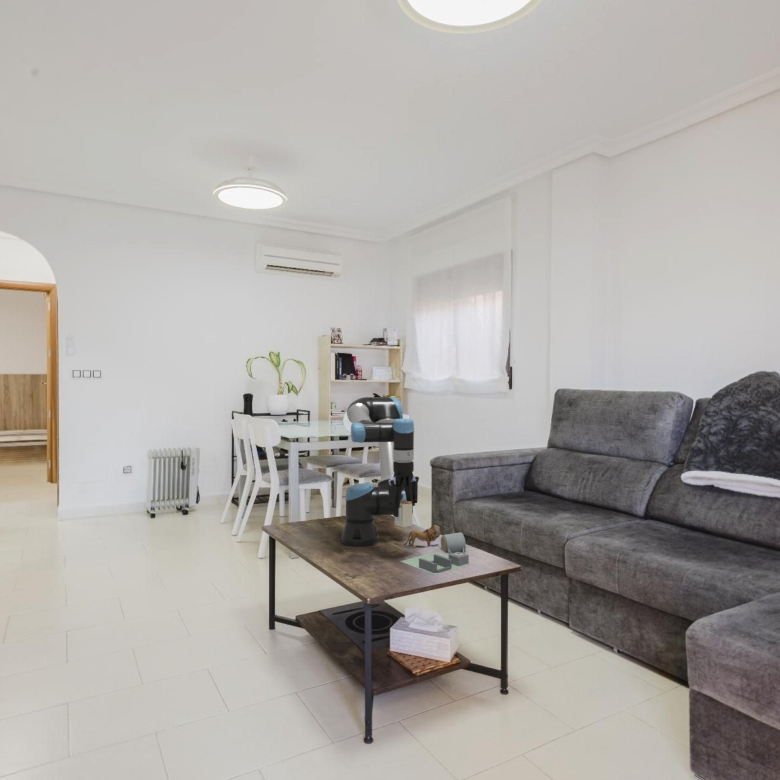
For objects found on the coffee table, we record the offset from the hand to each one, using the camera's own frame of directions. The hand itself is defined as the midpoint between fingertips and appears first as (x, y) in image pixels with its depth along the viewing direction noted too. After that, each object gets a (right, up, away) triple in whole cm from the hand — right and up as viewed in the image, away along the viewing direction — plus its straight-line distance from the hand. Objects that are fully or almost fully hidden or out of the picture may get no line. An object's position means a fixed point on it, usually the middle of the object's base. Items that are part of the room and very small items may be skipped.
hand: (403, 524), depth 205 cm
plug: (0, 0, 0) cm, 0 cm away
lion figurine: (+8, -13, +17) cm, 23 cm away
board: (+11, -13, -6) cm, 19 cm away
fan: (+20, -12, -7) cm, 24 cm away
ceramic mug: (+20, -14, +8) cm, 25 cm away
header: (+11, -12, -12) cm, 20 cm away
